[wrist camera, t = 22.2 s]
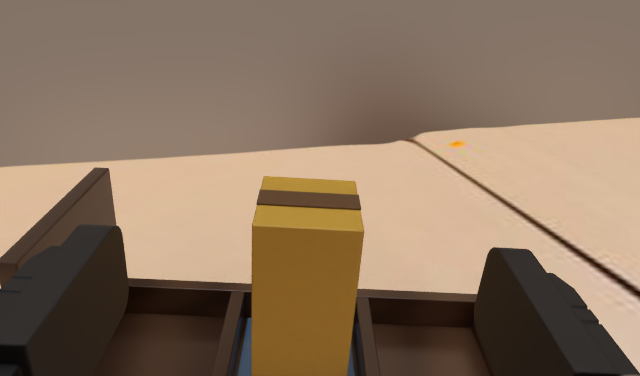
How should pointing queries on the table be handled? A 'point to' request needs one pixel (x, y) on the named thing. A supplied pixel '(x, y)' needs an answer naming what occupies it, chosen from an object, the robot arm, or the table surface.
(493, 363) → the robot arm
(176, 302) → the tray
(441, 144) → the table surface
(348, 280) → the parcel
